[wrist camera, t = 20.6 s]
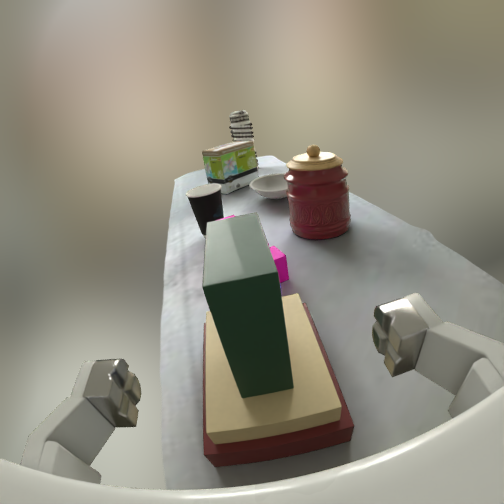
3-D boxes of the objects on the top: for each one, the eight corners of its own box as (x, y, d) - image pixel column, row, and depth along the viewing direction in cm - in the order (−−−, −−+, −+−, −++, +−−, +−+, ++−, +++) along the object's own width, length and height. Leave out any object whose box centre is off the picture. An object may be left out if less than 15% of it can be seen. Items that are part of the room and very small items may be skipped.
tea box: (228, 194, 93) (218, 150, 86) (209, 192, 100) (200, 150, 92) (260, 180, 101) (253, 139, 94) (241, 178, 108) (233, 140, 101)
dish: (246, 195, 89) (243, 180, 87) (291, 185, 91) (288, 170, 88) (261, 214, 74) (258, 195, 71) (314, 201, 75) (312, 183, 73)
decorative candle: (254, 171, 114) (243, 110, 102) (234, 173, 118) (222, 114, 106) (263, 165, 121) (253, 108, 109) (243, 167, 125) (233, 111, 113)
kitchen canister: (354, 239, 55) (349, 148, 46) (288, 243, 58) (275, 154, 50) (347, 213, 66) (342, 137, 57) (292, 216, 69) (282, 142, 61)
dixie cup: (232, 237, 64) (222, 190, 59) (197, 245, 64) (184, 198, 59) (229, 224, 71) (220, 181, 66) (198, 231, 71) (186, 188, 66)
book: (294, 388, 23) (279, 271, 17) (241, 398, 23) (201, 287, 17) (274, 313, 32) (257, 210, 26) (233, 322, 32) (206, 221, 26)
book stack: (350, 440, 22) (357, 412, 19) (214, 467, 22) (194, 444, 19) (306, 321, 38) (303, 285, 35) (210, 341, 38) (198, 307, 35)
